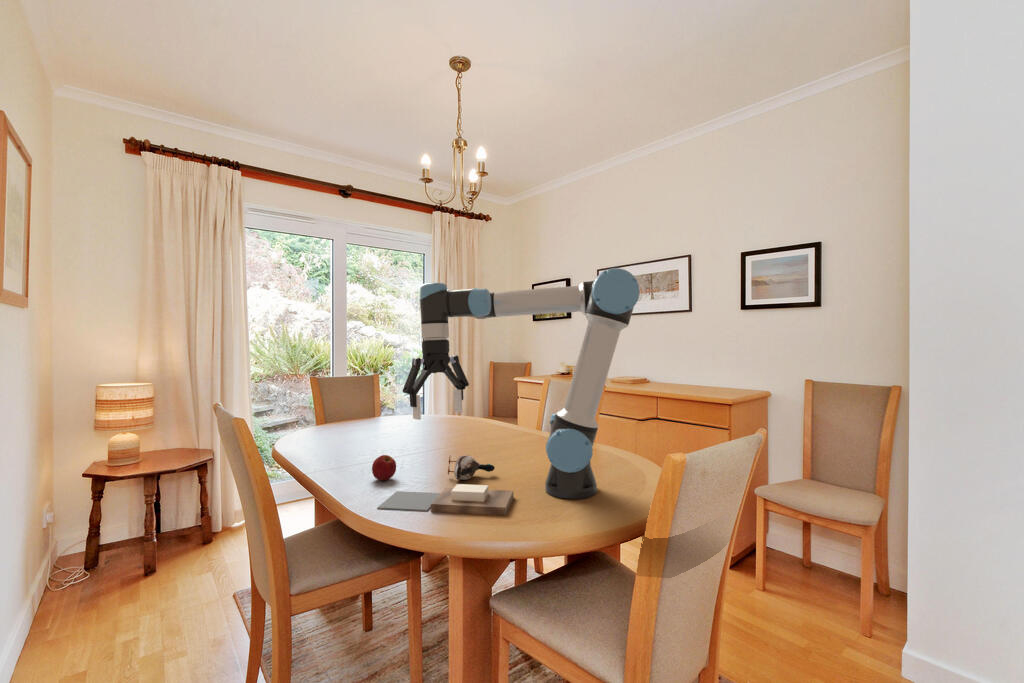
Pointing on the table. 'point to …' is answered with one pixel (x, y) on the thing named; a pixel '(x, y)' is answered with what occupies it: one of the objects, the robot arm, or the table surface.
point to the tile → (469, 492)
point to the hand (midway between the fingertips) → (438, 415)
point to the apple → (384, 467)
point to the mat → (409, 501)
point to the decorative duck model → (468, 467)
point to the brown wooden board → (474, 503)
